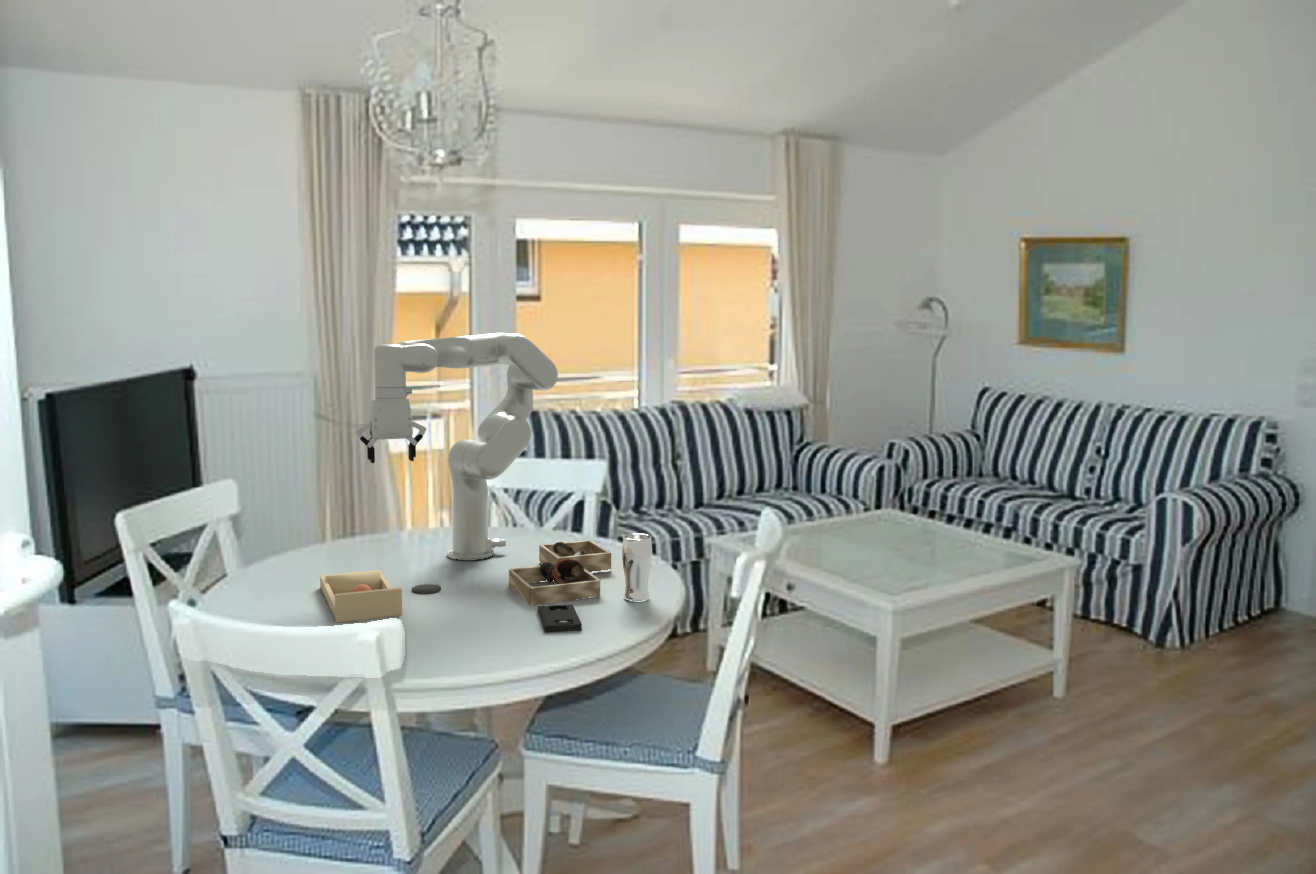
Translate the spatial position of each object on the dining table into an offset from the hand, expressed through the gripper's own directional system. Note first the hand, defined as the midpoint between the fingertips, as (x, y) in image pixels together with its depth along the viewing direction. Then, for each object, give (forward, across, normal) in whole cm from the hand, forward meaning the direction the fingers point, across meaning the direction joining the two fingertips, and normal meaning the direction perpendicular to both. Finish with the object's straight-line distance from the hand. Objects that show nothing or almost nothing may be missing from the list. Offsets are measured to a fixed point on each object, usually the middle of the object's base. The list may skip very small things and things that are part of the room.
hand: (391, 461), depth 252 cm
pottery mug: (+29, -35, +30) cm, 54 cm away
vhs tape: (+29, -26, +54) cm, 66 cm away
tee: (+28, -4, +20) cm, 35 cm away
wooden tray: (+28, -44, +14) cm, 54 cm away
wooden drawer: (+32, +12, +23) cm, 41 cm away
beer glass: (+28, -48, +45) cm, 72 cm away
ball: (+26, +12, +27) cm, 39 cm away
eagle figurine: (+29, -42, +13) cm, 53 cm away
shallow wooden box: (+28, -32, +32) cm, 53 cm away
